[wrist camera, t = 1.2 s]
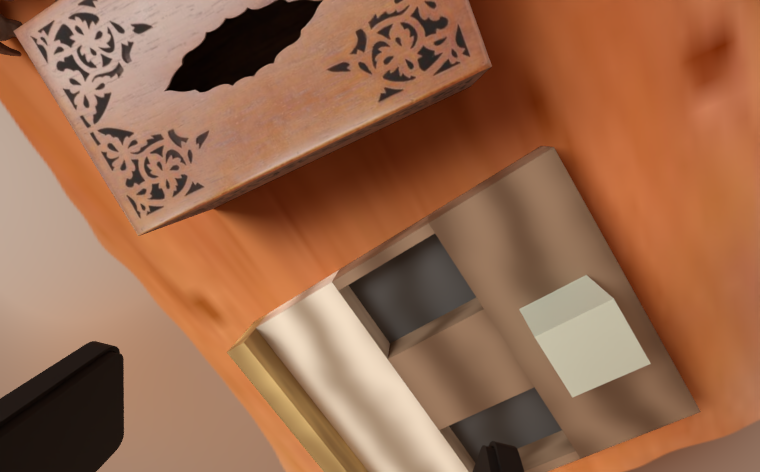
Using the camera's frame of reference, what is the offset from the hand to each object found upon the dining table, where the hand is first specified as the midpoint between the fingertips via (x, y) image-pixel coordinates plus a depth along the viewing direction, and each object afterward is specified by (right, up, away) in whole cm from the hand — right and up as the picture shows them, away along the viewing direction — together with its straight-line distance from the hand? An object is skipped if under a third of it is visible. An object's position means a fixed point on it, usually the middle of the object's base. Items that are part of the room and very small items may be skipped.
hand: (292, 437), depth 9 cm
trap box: (+10, -7, +27) cm, 30 cm away
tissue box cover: (-5, +19, +22) cm, 30 cm away
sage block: (+18, -2, +22) cm, 29 cm away
